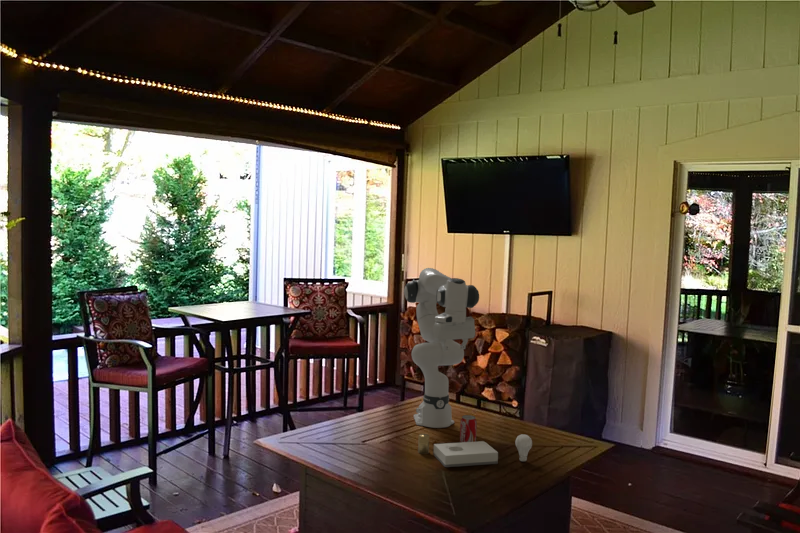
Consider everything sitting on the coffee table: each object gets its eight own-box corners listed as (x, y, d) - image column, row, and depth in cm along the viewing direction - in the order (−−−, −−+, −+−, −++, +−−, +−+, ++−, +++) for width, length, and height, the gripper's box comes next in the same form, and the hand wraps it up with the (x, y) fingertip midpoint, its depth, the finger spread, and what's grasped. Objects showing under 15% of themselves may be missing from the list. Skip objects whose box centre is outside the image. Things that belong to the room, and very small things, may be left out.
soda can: (475, 447, 267) (476, 419, 266) (458, 446, 268) (459, 418, 268) (476, 442, 274) (477, 415, 273) (460, 441, 275) (461, 414, 275)
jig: (433, 455, 256) (433, 444, 256) (483, 451, 262) (483, 441, 262) (445, 467, 243) (445, 455, 243) (497, 463, 249) (498, 452, 249)
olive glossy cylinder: (416, 450, 261) (417, 434, 260) (426, 450, 262) (427, 433, 262) (419, 454, 257) (420, 437, 256) (430, 453, 258) (430, 436, 257)
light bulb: (511, 459, 254) (512, 432, 253) (525, 458, 256) (526, 431, 256) (520, 465, 247) (521, 438, 247) (534, 463, 250) (535, 436, 250)
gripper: (469, 315, 274) (468, 347, 274) (431, 317, 262) (430, 350, 263) (479, 317, 269) (477, 349, 269) (440, 318, 257) (439, 352, 258)
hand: (454, 349), depth 266 cm, fingers open, 8 cm apart
